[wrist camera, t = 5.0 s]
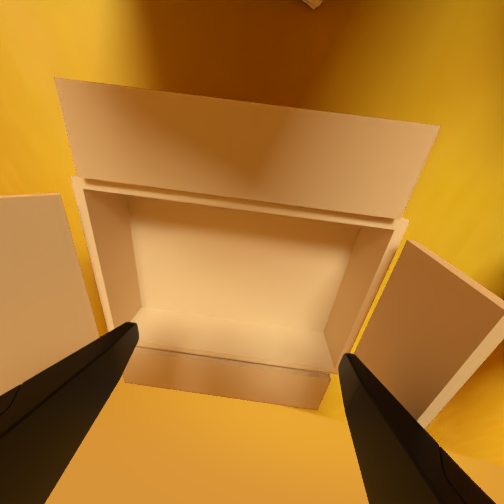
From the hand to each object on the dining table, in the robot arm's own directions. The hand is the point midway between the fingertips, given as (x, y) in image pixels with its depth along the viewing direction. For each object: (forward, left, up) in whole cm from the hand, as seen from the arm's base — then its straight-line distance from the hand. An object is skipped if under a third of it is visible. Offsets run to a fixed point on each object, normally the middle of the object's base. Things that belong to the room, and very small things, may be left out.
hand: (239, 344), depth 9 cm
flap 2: (-7, 0, 0) cm, 7 cm away
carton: (+1, 0, -7) cm, 7 cm away
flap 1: (+10, 0, -1) cm, 10 cm away
